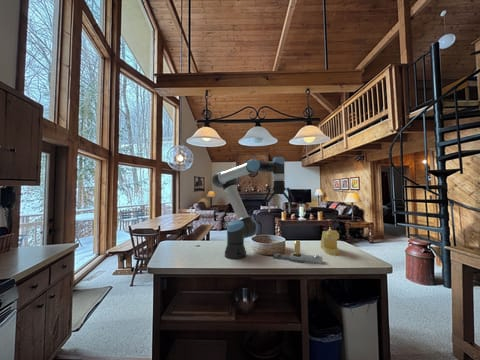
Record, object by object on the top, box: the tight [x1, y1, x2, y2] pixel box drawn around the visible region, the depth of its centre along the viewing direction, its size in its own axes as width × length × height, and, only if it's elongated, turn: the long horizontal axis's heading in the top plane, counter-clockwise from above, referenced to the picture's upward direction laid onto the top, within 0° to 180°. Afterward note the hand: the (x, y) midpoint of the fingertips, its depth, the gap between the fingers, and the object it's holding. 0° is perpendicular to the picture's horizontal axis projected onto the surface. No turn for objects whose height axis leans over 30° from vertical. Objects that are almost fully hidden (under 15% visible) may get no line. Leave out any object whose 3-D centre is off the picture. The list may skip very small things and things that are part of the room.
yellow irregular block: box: [320, 229, 340, 256], centre depth 162 cm, size 20×9×16 cm, turn 172°
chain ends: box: [272, 252, 324, 265], centre depth 142 cm, size 31×9×4 cm, turn 68°
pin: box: [293, 240, 301, 256], centre depth 142 cm, size 4×4×12 cm
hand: (279, 212), depth 145 cm, fingers open, 13 cm apart
